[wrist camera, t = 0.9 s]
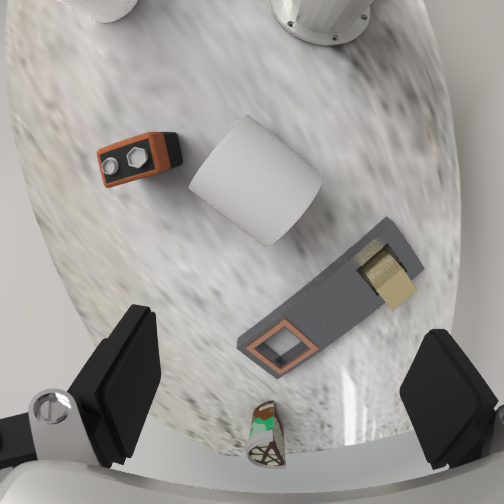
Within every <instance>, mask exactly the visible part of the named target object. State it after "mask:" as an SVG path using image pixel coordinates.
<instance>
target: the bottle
mask: <svg viewBox="0 0 504 504" xmlns="http://www.w3.org/2000/svg"><path fill="white" fill-rule="evenodd" d="M57 1H59V2H61V3H64V4H66V5H68V6H70V7H72V8H74V9H76V10H77V11H79V12H81V13H83V14H85V15H87V16H88V17H89V18H91V19H93V20H96V21H98V22H102V23H109V22H114V21H116V20H118V19H120V18H123V17H124V16H125V15H126V14H128V13H129V12H130V11H131V10H132V9H133V7H134V6H135V5H136V4H137V1H138V0H57Z"/></svg>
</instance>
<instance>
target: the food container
mask: <svg viewBox="0 0 504 504" xmlns="http://www.w3.org/2000/svg"><path fill="white" fill-rule="evenodd" d="M245 451H246V455H247V457H248V459H249V460H250V462H252V463H253V464H255V465H257V466H260V467H263V468H268V469H285V466H286V461H285V448H284V430H283V425H282V422H281V419H280V416H279V413H278V411H277V408H276V405H275V402H274V400H273V401H269V402H266V403H263V404H261V405H260V406H258V407H257V408H256V409H255V411H254V413H253V419H252V426H251V432H250V438H249V439H248V440H247V441H246V443H245Z"/></svg>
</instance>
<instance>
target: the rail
mask: <svg viewBox="0 0 504 504" xmlns="http://www.w3.org/2000/svg"><path fill="white" fill-rule="evenodd" d="M386 244H387V245H388V247H389V248H390V249H391V251H392V252H393V253H394V255H395V256H396V257H397V259H398V260H399V262H400V263H401V264H400V266H401V267H402V268H403V270H404V271H405V272H406V274H407V275H408V277H409V278H410V280H412V279H414V278H415V277H416V276H417V275H418V274H419V273H420V272H421V271H423V270H424V269H425V268H424V267H423V265H422V264H421V262H420V260H419V259H418V257H417V256H416V254H415V253H414V251H413V250H412V248H411V247H410V245H409V244H408V242H407V241H406V239H405V238H404V236H403V235H402V234H401V232H400V231H399V229H398V228H397V226H396V225H395V224H394V222H393V221H391V220H390V219H389V218H387V217H385V218H384V219H383V220H382V221H381V222H380V223H379V224H378V225H376V226H375V227H374V228H373V229H372V230H371V231H370V232H368V233H367V234H366V235H365V236H364V237H363V238H362V239H360V240H359V241H358V242H357V243H356V244H355V245H354V246H352V247H351V248H350V249H349V250H348V251H347V252H345V253H344V254H343V255H342V256H341V257H340V258H338V259H337V260H336V261H335V262H334V263H332V264H331V265H330V266H329V267H328V268H326V269H325V270H324V271H323V272H322V273H320V274H319V275H318V276H317V277H315V278H314V279H313V280H312V281H311V282H309V283H308V284H307V285H306V286H304V287H303V288H302V289H301V290H299V291H298V292H297V293H296V294H294V295H293V296H292V297H291V298H289V299H288V300H287V301H286V302H284V303H283V304H282V305H281V306H279V307H278V308H277V309H275V310H274V311H273V312H272V313H270V314H269V315H268V316H266V317H265V318H264V319H263V320H261V321H260V322H259V323H257V324H256V325H255V326H253V327H252V328H251V329H249V330H248V331H247V332H245V333H244V334H243V335H241V336H240V337H239V338H238V341H237V349H238V350H239V351H241V352H242V353H243V354H244V355H246V356H247V357H248V358H250V359H251V360H252V361H254V362H255V363H256V364H258V365H259V366H260V367H262V368H263V369H264V370H266V371H267V372H268V373H270V374H271V375H272V376H274V377H275V378H276V379H278V378H280V377H282V376H283V375H285V374H286V373H288V372H290V371H291V370H293V369H294V368H296V367H297V366H299V365H300V364H302V363H303V362H305V361H306V360H308V359H309V358H311V357H312V356H314V355H315V354H317V353H318V352H320V351H321V350H322V349H324V348H325V347H327V346H328V345H330V344H331V343H332V342H334V341H335V340H337V339H338V338H339V337H341V336H342V335H344V334H345V333H346V332H348V331H349V330H350V329H352V328H353V327H354V326H356V325H357V324H358V323H360V322H361V321H362V320H364V319H365V318H366V317H367V316H369V315H370V314H371V313H373V312H374V311H375V310H376V309H378V308H379V307H380V306H381V305H383V304H384V303H385V301H384V299H383V298H382V297H381V296H380V294H379V293H378V292H377V291H376V289H375V288H374V287H371V286H370V284H369V283H368V282H367V281H366V280H365V278H364V277H363V276H362V275H361V274H360V272H359V271H358V270H357V269H358V268H359V267H360V266H362V265H363V264H364V263H365V262H366V261H368V260H369V259H370V258H371V257H372V256H373V255H375V254H376V253H377V252H378V251H379V250H380V249H381V248H383V247H384V246H385V245H386ZM283 327H285V328H286V329H288V330H289V331H290V332H291V333H292V334H293V335H295V336H296V337H297V338H298V339H299V340H300V341H301V342H300V343H299V344H297V345H296V346H295V347H293V348H292V349H290V350H289V351H287V352H286V353H284V354H283V355H282V356H279V355H278V354H277V353H275V352H274V351H273V350H272V349H270V348H269V347H268V346H267V345H266V344H264V343H263V342H264V341H265V340H267V339H268V338H270V337H271V336H272V335H274V334H275V333H276V332H278V331H279V330H281V329H282V328H283Z"/></svg>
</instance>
